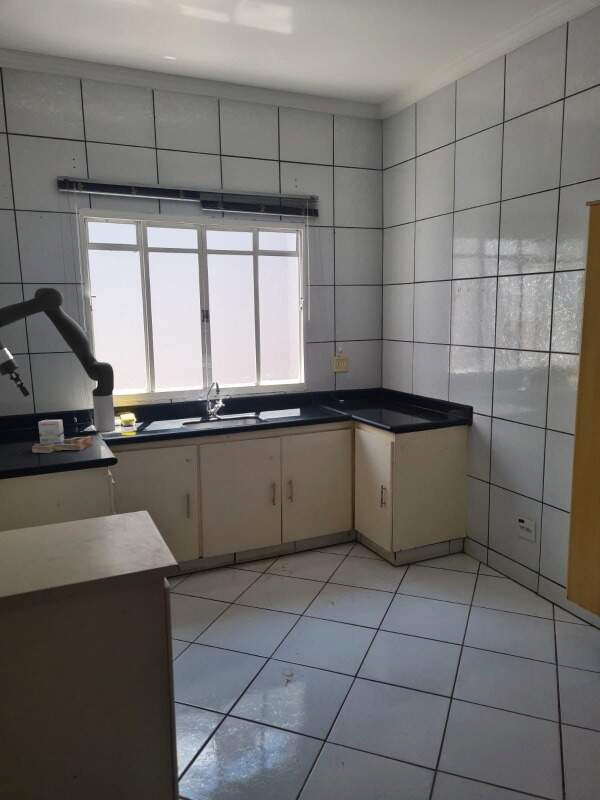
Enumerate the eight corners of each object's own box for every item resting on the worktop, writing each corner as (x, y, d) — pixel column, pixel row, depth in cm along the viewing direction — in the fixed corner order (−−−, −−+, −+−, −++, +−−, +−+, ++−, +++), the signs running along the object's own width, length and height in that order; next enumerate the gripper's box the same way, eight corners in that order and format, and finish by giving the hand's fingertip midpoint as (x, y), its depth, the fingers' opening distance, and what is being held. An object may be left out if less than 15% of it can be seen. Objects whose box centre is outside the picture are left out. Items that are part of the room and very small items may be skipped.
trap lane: (54, 442, 252) (53, 433, 251) (97, 443, 249) (96, 434, 248) (28, 452, 234) (27, 442, 233) (74, 453, 231) (73, 443, 230)
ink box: (65, 446, 245) (63, 419, 243) (60, 448, 240) (58, 421, 238) (45, 446, 244) (42, 419, 243) (40, 449, 240) (37, 421, 238)
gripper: (12, 355, 228) (36, 390, 232) (13, 358, 241) (35, 391, 244) (-6, 365, 225) (18, 400, 229) (-4, 367, 238) (19, 400, 242)
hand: (27, 395), depth 237 cm, fingers open, 8 cm apart
